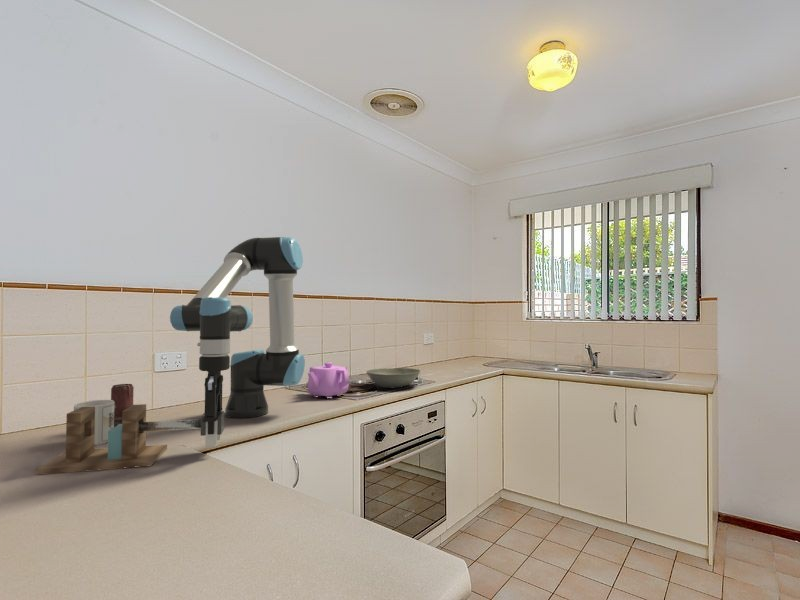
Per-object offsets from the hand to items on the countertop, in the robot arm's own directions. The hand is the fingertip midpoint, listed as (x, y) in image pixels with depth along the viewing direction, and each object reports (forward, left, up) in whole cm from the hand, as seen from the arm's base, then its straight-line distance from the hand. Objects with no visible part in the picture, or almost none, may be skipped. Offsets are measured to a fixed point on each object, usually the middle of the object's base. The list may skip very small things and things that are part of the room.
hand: (213, 442), depth 118 cm
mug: (+36, -19, -3) cm, 41 cm away
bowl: (-70, -93, -3) cm, 117 cm away
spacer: (+22, 0, -2) cm, 22 cm away
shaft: (+8, 0, +3) cm, 9 cm away
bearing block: (+25, 0, -3) cm, 25 cm away
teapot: (-36, -75, -3) cm, 83 cm away
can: (+33, -34, -3) cm, 47 cm away
